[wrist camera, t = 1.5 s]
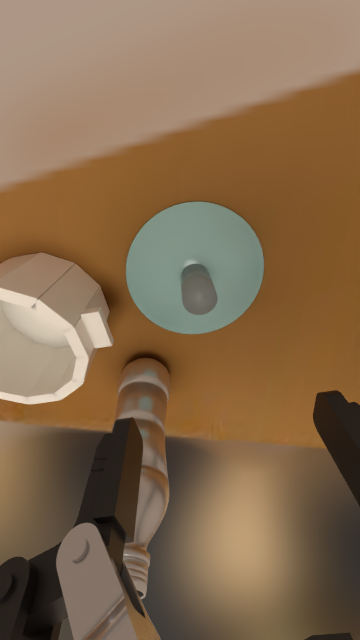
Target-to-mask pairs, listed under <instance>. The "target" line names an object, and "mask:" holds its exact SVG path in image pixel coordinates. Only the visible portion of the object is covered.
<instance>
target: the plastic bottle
mask: <svg viewBox="0 0 360 640" xmlns="http://www.w3.org/2000/svg"><path fill="white" fill-rule="evenodd" d="M170 390H171V380H170V376H169V372H168V370H167V369H166V368H165V367H164V365H162V364H161V363H160V362H158V361H157V360H155V359H151V358H140V359H136V360H134V361H132V362H130V363H129V364H128V365H126V366H125V368H124V370H123V371H122V373H121V375H120V378H119V381H118V401H117V408H116V415H115V421H116V420H117V419H123V418H130V417H133V418H134V419H135V421H136V424H137V426H138V429H139V431H140V433H141V436H142V440H143V457H142V466H141V476H140V486H139V495H138V505H137V515H136V524H135V534H134V542H133V543H125V546H124V553H123V560H124V563H125V565H126V567H127V569H128V572H129V574H130V576H131V579H132V581H133V583H134V585H135V588H136V590H137V592H138V594H139V597H140V599H142V598H144V597H145V596H146V590H147V575H148V567H149V565H150V554H149V553H148V552H146V548H147V544H148V542H149V541H150V539H151V538H152V536H153V535H154V533H155V531H156V530H157V528H158V526H159V524H160V522H161V521H162V519H163V517H164V515H165V512H166V508H167V505H168V501H169V484H168V475H167V466H166V457H165V418H166V410H167V403H168V400H169V396H170ZM115 421H114V423H115ZM113 427H114V424H113ZM112 431H113V428H112ZM111 433H112V432H111Z"/></svg>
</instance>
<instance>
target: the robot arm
mask: <svg viewBox="0 0 360 640" xmlns="http://www.w3.org/2000/svg"><path fill="white" fill-rule="evenodd" d="M313 420H314V424H315V427H316V429H317V431H318V433H319V435H320V436H321V438H322V440H323V442H324V444H325V445H326V447H327V449H328V451H329V452H330V454H331V456H332V458H333V460H334V461H335V463H336V465H337V467H338V469H339V470H340V472H341V474H342V476H343V478H344V479H345V481H346V482H347V485H348V486H349V488H350V490H351V492H352V494H353V495H354V497H355V499H356V501H357V502H358V504H359V506H360V405H359V404H357V403H356V402H351V403H348V402H347V400H346V399H345V398H344V396H343V395H342V394H341V393H340V392H339V391H337V390H335V391H328V392H321V393H317V396H316V401H315V407H314V412H313ZM142 457H143V440H142V436H141V433H140V431H139V429H138V426H137V424H136V421H135V419H134V418H133V417H130V418H123V419H117V420H116V421H115V423H114V427H113V431H112V433H109V434H105V435H104V436H103V438H102V439H101V441H100V443H99V444H98V446H97V449H96V453H95V456H94V462H93V464H92V467H91V473H90V475H89V478H88V482H87V486H86V489H85V493H84V497H83V501H82V504H81V508H80V511H79V515H78V518H77V521H76V523H75V525H74V527H73V529H72V530H71V531H70V532H69V533H68V534H67V535H66V537H65V538H64V540H63V541H62V542H60V543H59V544H58V545H56V546H55V547H53V548H51V549H49V550H47V551H45V552H43V553H41V554H39V555H38V556H36V557H34V558H32V559H30V560H28V561H27V560H26V559H24V558H23V557H14V558H11V559H9V560H7V561H6V562H4V563H3V564H2V565H1V566H0V640H58V638H59V633H60V628H61V623H62V620H64V619H65V618H67V617H69V621H70V625H71V629H72V634H73V638H74V640H161V639H160V637H159V635H158V633H157V631H156V629H155V627H154V626H153V624H152V622H151V621H150V619H149V617H148V615H147V613H146V610H145V608H144V606H143V604H142V601H141V599H140V597H139V594H138V592H137V590H136V588H135V585H134V583H133V581H132V579H131V576H130V574H129V572H128V569H127V567H126V565H125V563H124V560H123V553H124V546H125V543H133V542H134V534H135V524H136V515H137V505H138V495H139V486H140V476H141V466H142ZM305 640H353V639H352V637H351V634H350V633H340V634H327V635H313V636H310V637H309V638H307V639H305Z"/></svg>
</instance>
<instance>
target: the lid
mask: <svg viewBox="0 0 360 640" xmlns="http://www.w3.org/2000/svg"><path fill="white" fill-rule="evenodd" d="M263 273H264V257H263V252H262V248H261V245H260V242H259V240H258V238H257V236H256V234H255V232H254V231H253V229H252V228H251V227H250V225H249V224H248V223H247V222H246V221H245V220H244V219H243V218H242V217H240V216H239V215H237V214H236V213H235V212H233V211H231V210H229V209H227V208H226V207H224V206H221V205H218V204H215V203H209V202H200V201H193V202H184V203H180V204H176V205H173V206H171V207H168V208H166V209H164V210H162V211H161V212H159V213H157V214H156V215H155V216H153V217H152V218H151V219H150V220H148V221H147V223H146V224H145V225H144V226H143V227H142V228H141V229H140V231H139V232H138V234H137V235H136V237H135V239H134V241H133V243H132V245H131V247H130V250H129V253H128V257H127V262H126V280H127V285H128V289H129V292H130V294H131V297H132V299H133V301H134V302H135V304H136V306H137V307H138V308H139V310H140V311H141V312H142V313H143V314H144V315H145V316H146V317H147V318H148V319H149V320H151V321H152V322H154V323H155V324H157V325H158V326H160V327H162V328H164V329H167V330H170V331H173V332H177V333H183V334H201V333H207V332H211V331H214V330H218V329H220V328H222V327H224V326H226V325H228V324H230V323H232V322H233V321H234V320H236V319H237V318H239V317H240V316H241V315H242V314H243V313H244V312H245V311H246V310H247V309H248V307H249V306H250V305H251V304H252V302H253V301H254V299H255V297H256V295H257V293H258V291H259V289H260V286H261V283H262V279H263Z"/></svg>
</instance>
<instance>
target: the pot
mask: <svg viewBox="0 0 360 640" xmlns="http://www.w3.org/2000/svg"><path fill="white" fill-rule="evenodd" d="M99 286H100V285H99V284H98V283H97V282H96V281H94V280H93V279H92V278H91V277H90V276H89V275H88V274H87V273H86V272H85V271H84V270H82V269H81V268H80V267H79V266H78V265H77V264H75V263H74V262H70V261H67V260H64V259H61V258H58V257H55V256H52V255H49V254H46V253H43V252H42V253H41V252H40V253H35V254H29V255H24V256H18V257H13V258H10V259H8V260H6V261H4V262H3V263H1V264H0V399H4V400H9V401H14V402H19V403H24V404H37V403H44V402H51V401H58V400H62V399H63V398H65V397H66V396H67V395H69V394H70V393H72V392H73V391H74V390H76V389H77V388H78V387H80V386H81V385H83V383H84V380H85V378H86V376H87V373H88V371H89V369H90V366H91V364H92V361H93V359H94V357H95V354H96V352H97V350H98V348H101V347H108V346H112V344H113V342H114V340H113V337H112V335H111V332H110V329H109V327H108V324H107V321H108V317H109V313H110V311H109V308H108V306H107V303H106V300H105V297H104V295H103V292H102V289H101V286H100V287H99Z"/></svg>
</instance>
